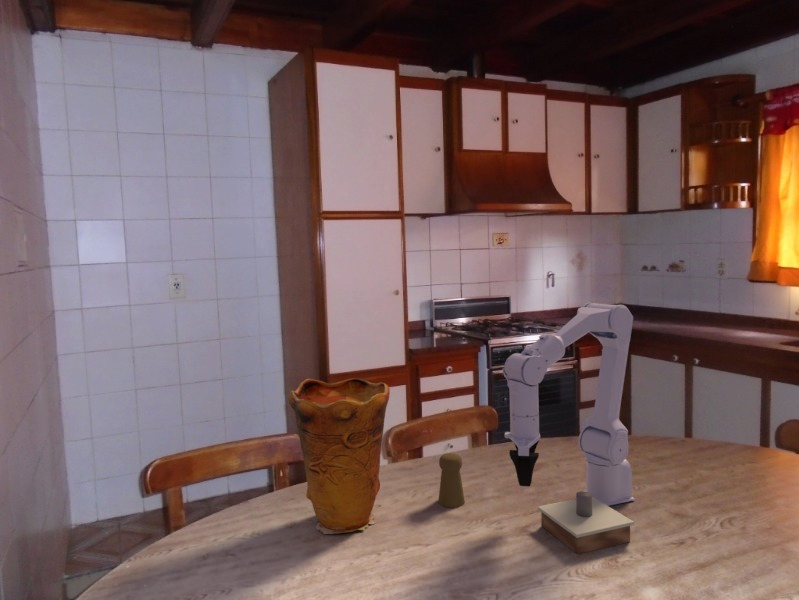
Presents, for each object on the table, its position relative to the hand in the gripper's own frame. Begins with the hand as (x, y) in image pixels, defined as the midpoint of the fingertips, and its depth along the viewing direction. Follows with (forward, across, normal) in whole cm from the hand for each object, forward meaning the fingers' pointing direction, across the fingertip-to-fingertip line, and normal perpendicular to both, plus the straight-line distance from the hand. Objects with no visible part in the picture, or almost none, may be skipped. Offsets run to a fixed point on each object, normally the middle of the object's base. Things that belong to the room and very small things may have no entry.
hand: (525, 478), depth 121 cm
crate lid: (+7, +2, +11) cm, 13 cm away
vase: (+10, +6, -37) cm, 39 cm away
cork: (+10, -8, -17) cm, 22 cm away
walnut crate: (+10, +2, +11) cm, 15 cm away
